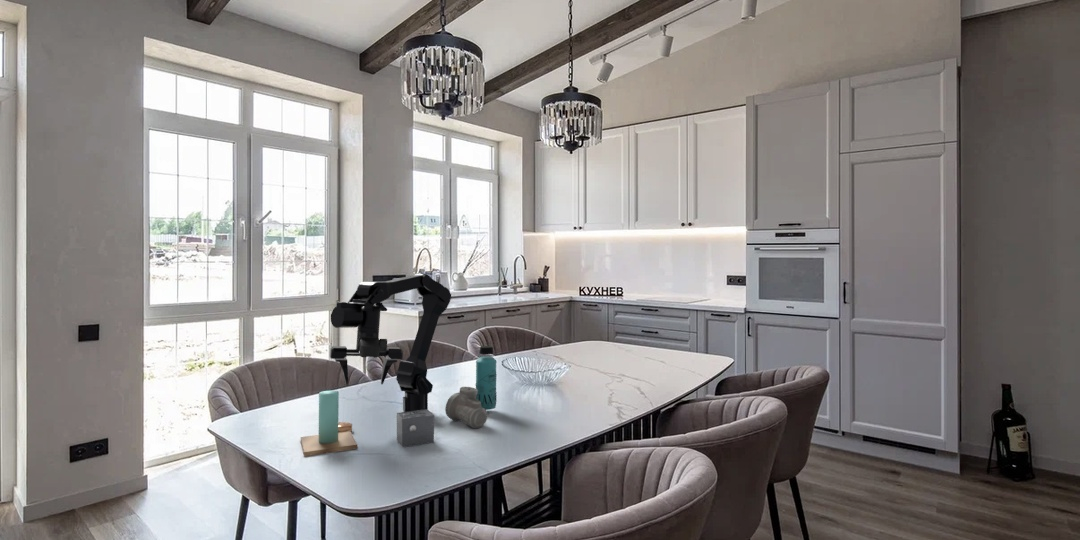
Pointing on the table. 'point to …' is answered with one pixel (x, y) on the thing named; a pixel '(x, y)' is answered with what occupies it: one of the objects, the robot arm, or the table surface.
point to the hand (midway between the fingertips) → (364, 384)
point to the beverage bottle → (486, 379)
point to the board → (314, 447)
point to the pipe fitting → (466, 408)
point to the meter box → (415, 428)
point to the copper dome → (344, 426)
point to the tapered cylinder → (328, 416)
